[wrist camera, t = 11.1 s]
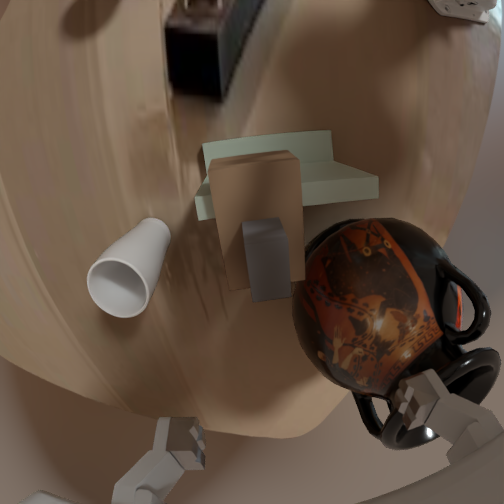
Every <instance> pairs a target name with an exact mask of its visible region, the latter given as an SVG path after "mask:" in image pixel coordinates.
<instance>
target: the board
mask: <svg viewBox="0 0 504 504" xmlns="http://www.w3.org/2000/svg"><path fill="white" fill-rule="evenodd" d="M202 146H203V152H204V159H205V165H206V172H207V171H208V168H209V165H210V162H211V159H217V158H224V157H230V156H238V155H245V154H253V153H261V152H270V151H280V150H288V151H289V152H291V153H292V154H293V155H294V156H296V157H297V158H298V159H299V160H300V171H301V186H302V204H303V206H310V205H319V204H328V203H337V202H346V201H356V200H366V199H377V198H379V177H378V176H376V175H373V174H370V173H367V172H365V171H362V170H359V169H356V168H353V167H350V166H348V165H345V164H342V163H339V162H336V161H333V148H332V136H331V130H319V131H303V132H290V133H279V134H268V135H259V136H251V137H243V138H235V139H228V140H221V141H215V142H209V143H203V144H202ZM194 198H195V204H196V209H197V215H198V220H199V221H200V220H206V219H213V218H215V212H214V206H213V201H212V195H211V189H210V184H209V178H208V172H207V176H206V178H205V180H204V182H203V183H202V185H201V187H200V189H199V190H198V192H197V194H196V196H195V197H194Z"/></svg>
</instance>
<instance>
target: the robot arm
mask: <svg viewBox="0 0 504 504" xmlns="http://www.w3.org/2000/svg"><path fill="white" fill-rule="evenodd" d="M428 1H429V2H430V4H431V5H432V6H433V8H434V9H435V10H436V11H437V12H438V13H439V14H440V15H443V16H450V17H456V18H462V19H467V20H472V21H477V22H481V23H487V22H488V21H489V10H490V9H493V8H495V6H496V3H497V0H428ZM399 387H400V388H399V389H398V390H397V391H396V393H395V405H396V408H397V410H398V411H399V412H400V413H402V414H403V417H402V420H403V422H404V424H405V426H406V428H407V430H410V429H413V428H416V427H418V426H421V425H423V424H424V425H425V426H426V427H428V428H429V429H431V430H432V431H434V432H435V433H437V434H438V435H440V436H441V437H443V438H444V439H446V440H447V441H449V442H450V443H452V444H453V446H452V447H451V448H450V450H449V451H448V452H447V455H446V456H447V458H448V460H449V462H450V464H451V465H449V466H447V467H446V468H444V469H442V470H440V471H438V472H436V473H434V474H432V475H429V476H427V477H425V478H423V479H421V480H419V481H417V482H414V483H412V484H410V485H407V486H405V487H402V488H400V489H398V490H395V491H392V492H389V493H387V494H384V495H381V496H378V497H375V498H372V499H369V500H366V501H363V502H360V503H356V504H504V429H503V428H502V426H501V425H500V423H499V421H498V420H497V418H496V417H495V415H494V414H493V412H492V411H491V410H489V409H486V408H484V407H482V406H480V405H477V404H475V403H473V402H471V401H469V400H467V399H464V398H462V397H460V396H458V395H456V394H454V393H452V394H450V393H449V391H448V390H447V388H446V387H445V385H444V384H443V383H442V381H441V380H440V378H439V377H438V375H437V374H436V372H435V371H434V370H433V369H429V370H426V371H424V372H420V373H417V374H415V375H412V376H409V377H407V378H404V379H402V380H400V382H399ZM205 447H206V439H205V433H204V429H203V427H202V426H200V425H199V420H198V418H197V417H159V419H158V421H157V426H156V432H155V438H154V443H153V449H152V450H149V451H148V452H147V453H146V454H145V455H144V456H143V457H142V458H141V459H140V460H139V461H138V462H137V463H136V464H135V465H134V466H133V467H132V468H131V469H130V470H129V471H128V472H127V473H126V474H125V475H124V476H123V477H122V478H121V479H120V480H119V481H118V482H117V483H116V484H115V487H114V492H113V497H112V503H111V504H167V503H165V502H164V501H163V500H164V499H165V497H166V495H168V493H169V492H170V490H171V489H172V488H173V486H174V485H175V484H176V482H177V481H178V480H179V478H180V477H181V475H182V474H183V473H184V470H204V469H205V455H204V453H203V452H202V451H203V449H204V448H205ZM18 504H81V503H78V502H75V501H72V500H69V499H66V498H63V497H60V496H57V495H55V494H52V493H49V492H47V491H43V490H38V491H36V492H34V493H32V494H31V495H30V496H28V497H26V498H25V499H23V500H22V501H21V502H19V503H18Z"/></svg>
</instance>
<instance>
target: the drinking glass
mask: <svg viewBox="0 0 504 504" xmlns="http://www.w3.org/2000/svg"><path fill="white" fill-rule="evenodd" d="M170 241H171V234H170V231H169V228H168V227H167V225H166V224H165V223H164V222H163V221H161V220H159V219H156V218H146V219H144V220H142V221H140V222H139V223H138V224H137V225H136V226H135V227H134V228H132V229H131V230H130V231H128V232H127V233H126V234H124V235H123V236H122V237H120V238H119V239H118V240H116V241H115V242H114V243H112V244H111V245H110V246H109V247H108V248H107V249H106V250H105V251H104V252H103V253H102V254H101V255H100V256H99V257H98V259H97V260H96V261H95V262H94V264H93V265H92V266H91V268H90V270H89V272H88V276H87V287H88V290H89V293H90V295H91V297H92V299H93V300H94V302H95V303H96V304H97V305H98V306H99V307H100V308H101V309H102V310H103V311H105V312H106V313H108V314H110V315H113V316H116V317H120V318H130V317H134V316H137V315H139V314H140V313H141V312H143V311H144V309H145V308H146V307H147V305H148V303H149V301H150V299H151V297H152V295H153V293H154V291H155V288H156V286H157V283H158V280H159V277H160V273H161V269H162V265H163V262H164V258H165V255H166V252H167V249H168V247H169V244H170Z"/></svg>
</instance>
